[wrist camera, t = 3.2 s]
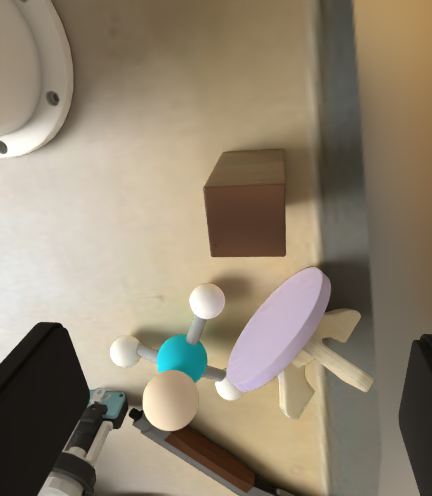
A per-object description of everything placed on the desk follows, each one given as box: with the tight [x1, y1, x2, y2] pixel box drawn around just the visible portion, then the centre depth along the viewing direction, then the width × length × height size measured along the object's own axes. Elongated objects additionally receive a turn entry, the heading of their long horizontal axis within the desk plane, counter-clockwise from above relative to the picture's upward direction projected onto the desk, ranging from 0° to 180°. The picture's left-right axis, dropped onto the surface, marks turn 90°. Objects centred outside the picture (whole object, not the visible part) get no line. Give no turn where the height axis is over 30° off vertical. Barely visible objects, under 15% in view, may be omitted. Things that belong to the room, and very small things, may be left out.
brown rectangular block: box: [203, 149, 286, 257], centre depth 22 cm, size 4×4×7 cm
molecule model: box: [110, 283, 245, 431], centre depth 28 cm, size 12×12×9 cm
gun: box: [129, 408, 294, 496], centre depth 39 cm, size 2×34×7 cm
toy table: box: [227, 267, 373, 420], centre depth 26 cm, size 10×9×6 cm
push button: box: [38, 388, 128, 496], centre depth 34 cm, size 7×5×10 cm
